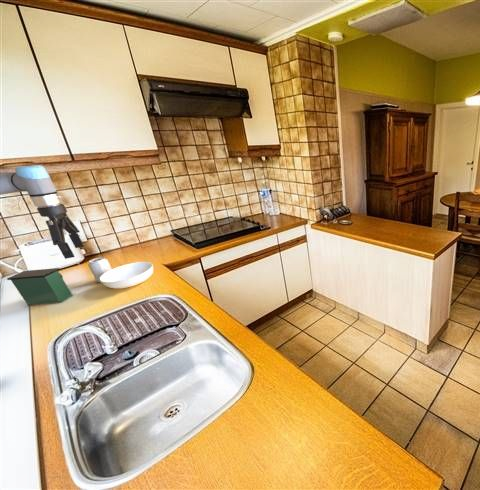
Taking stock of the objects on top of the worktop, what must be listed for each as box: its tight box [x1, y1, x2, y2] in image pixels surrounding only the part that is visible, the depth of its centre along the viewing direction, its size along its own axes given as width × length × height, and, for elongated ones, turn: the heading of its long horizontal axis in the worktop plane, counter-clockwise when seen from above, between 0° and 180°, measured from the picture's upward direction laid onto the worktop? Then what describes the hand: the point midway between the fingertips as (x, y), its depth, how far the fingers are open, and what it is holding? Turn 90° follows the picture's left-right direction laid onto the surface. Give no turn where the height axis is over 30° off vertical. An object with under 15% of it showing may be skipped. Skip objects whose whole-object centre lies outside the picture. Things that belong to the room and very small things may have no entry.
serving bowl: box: [100, 261, 154, 289], centre depth 135 cm, size 21×21×7 cm
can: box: [87, 256, 113, 283], centre depth 139 cm, size 8×8×12 cm
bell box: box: [6, 267, 73, 307], centre depth 122 cm, size 15×7×15 cm, turn 95°
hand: (75, 252), depth 116 cm, fingers open, 13 cm apart
